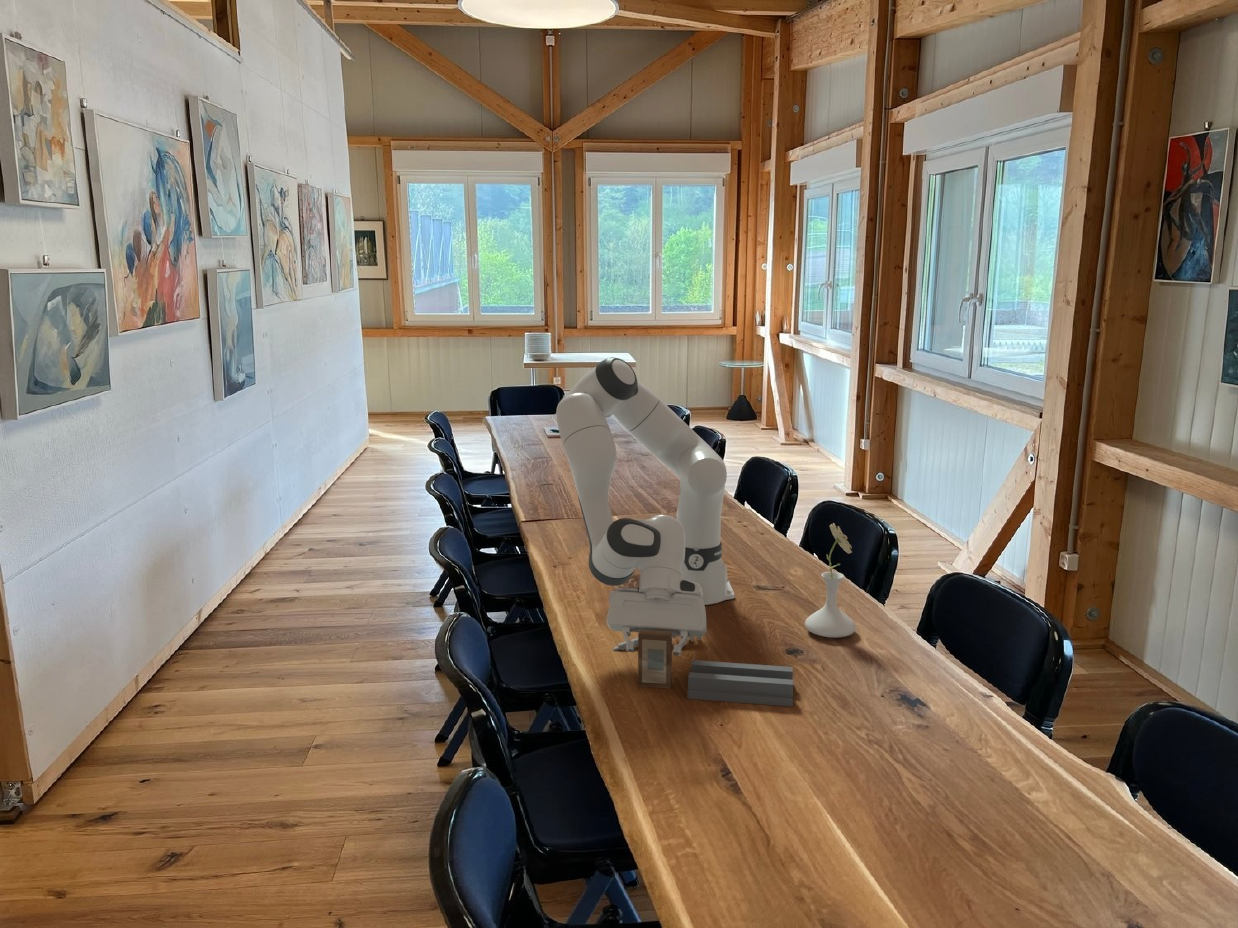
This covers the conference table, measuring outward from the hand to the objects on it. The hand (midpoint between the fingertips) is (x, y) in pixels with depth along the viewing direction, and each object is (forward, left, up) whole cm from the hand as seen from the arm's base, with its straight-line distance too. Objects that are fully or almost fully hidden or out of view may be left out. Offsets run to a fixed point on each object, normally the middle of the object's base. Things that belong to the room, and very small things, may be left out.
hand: (653, 652), depth 179 cm
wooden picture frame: (0, 0, -7) cm, 7 cm away
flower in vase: (-34, +36, -7) cm, 50 cm away
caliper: (-20, -2, -7) cm, 21 cm away
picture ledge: (0, +17, -7) cm, 19 cm away
